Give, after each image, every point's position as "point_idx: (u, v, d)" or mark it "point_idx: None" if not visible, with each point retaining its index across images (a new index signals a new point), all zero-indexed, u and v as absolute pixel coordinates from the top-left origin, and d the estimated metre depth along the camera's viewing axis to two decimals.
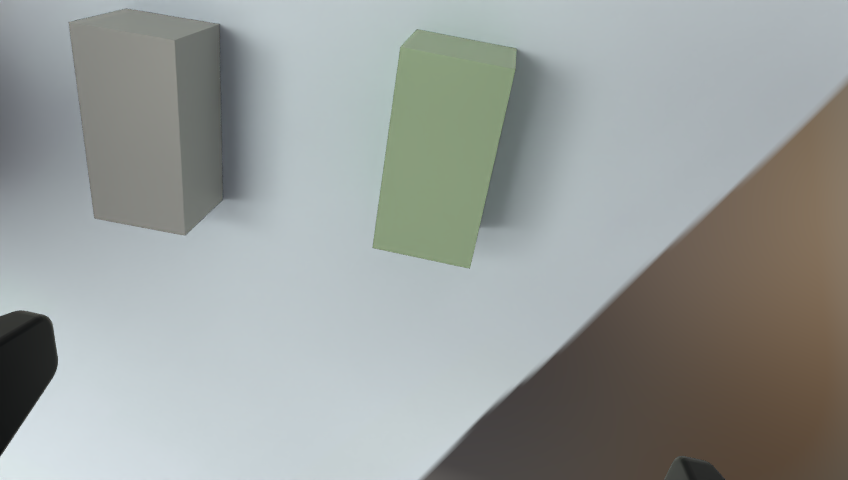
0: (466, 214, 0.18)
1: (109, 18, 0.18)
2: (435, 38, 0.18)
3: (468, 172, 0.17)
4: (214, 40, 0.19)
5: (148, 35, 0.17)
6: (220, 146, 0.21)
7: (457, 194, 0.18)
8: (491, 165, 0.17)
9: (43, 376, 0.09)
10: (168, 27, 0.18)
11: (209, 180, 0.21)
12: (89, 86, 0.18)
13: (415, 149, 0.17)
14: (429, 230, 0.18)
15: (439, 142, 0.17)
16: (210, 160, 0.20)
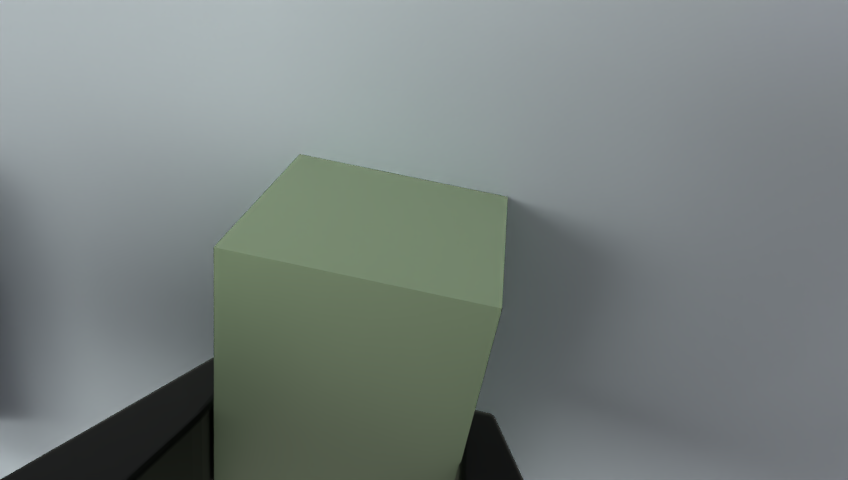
0: None
1: None
2: (329, 185, 0.08)
3: None
4: None
5: None
6: None
7: None
8: None
9: None
10: None
11: None
12: None
13: (277, 447, 0.08)
14: None
15: (330, 438, 0.07)
16: None
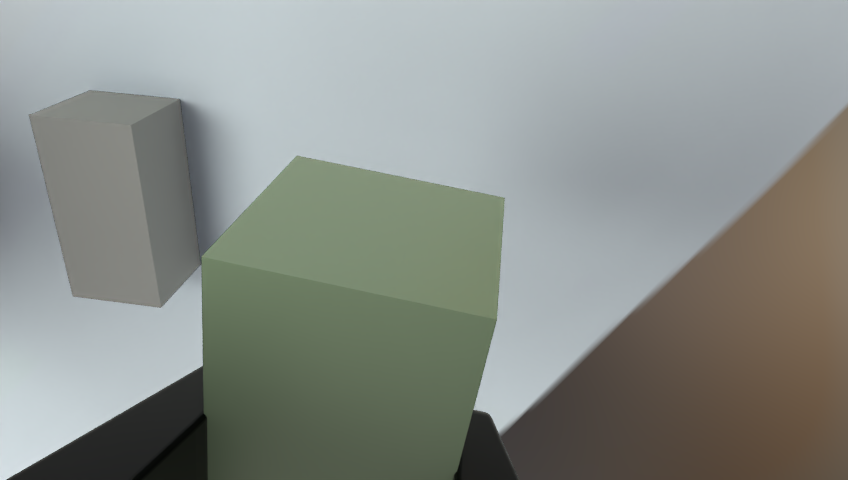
0: None
1: (70, 105, 0.18)
2: (322, 192, 0.08)
3: None
4: (176, 115, 0.20)
5: (105, 122, 0.17)
6: (193, 214, 0.21)
7: None
8: None
9: None
10: (127, 109, 0.18)
11: (183, 249, 0.21)
12: (54, 173, 0.18)
13: (268, 460, 0.07)
14: None
15: (322, 451, 0.07)
16: (182, 229, 0.21)
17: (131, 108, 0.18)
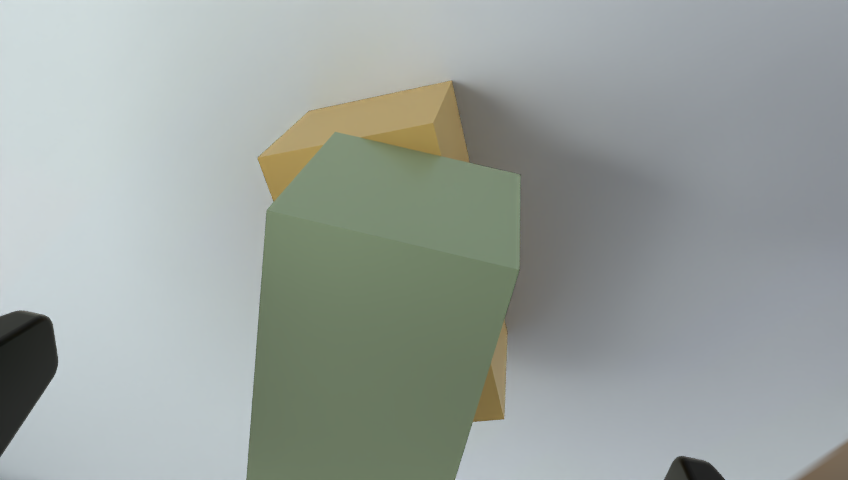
0: None
1: None
2: (361, 163, 0.09)
3: (418, 441, 0.09)
4: None
5: None
6: None
7: (397, 474, 0.09)
8: (464, 433, 0.08)
9: (43, 376, 0.09)
10: None
11: None
12: None
13: (310, 396, 0.08)
14: None
15: (359, 387, 0.08)
16: None
17: None
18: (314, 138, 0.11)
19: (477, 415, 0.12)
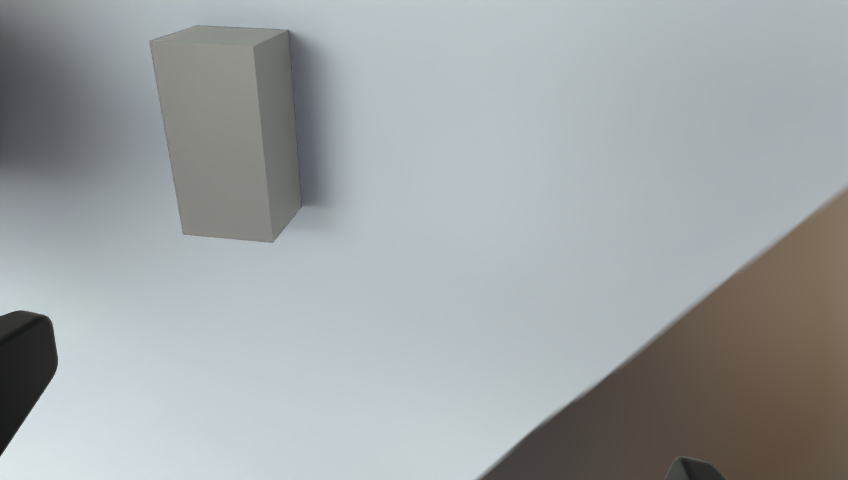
0: None
1: (185, 34, 0.18)
2: None
3: None
4: (285, 46, 0.19)
5: (227, 44, 0.17)
6: (297, 152, 0.21)
7: None
8: None
9: (43, 376, 0.09)
10: (242, 36, 0.18)
11: (289, 186, 0.21)
12: (171, 102, 0.18)
13: None
14: None
15: None
16: (289, 166, 0.21)
17: (245, 36, 0.18)
18: None
19: None
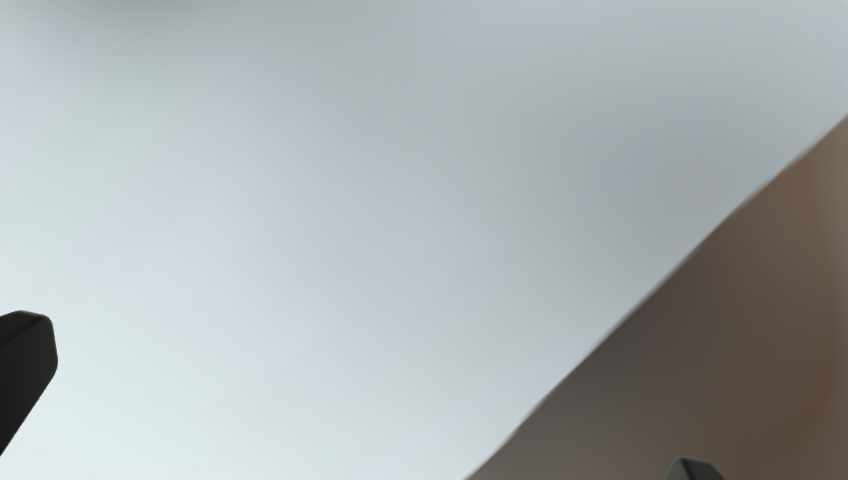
0: None
1: None
2: None
3: None
4: None
5: None
6: None
7: None
8: None
9: (43, 376, 0.09)
10: None
11: None
12: None
13: None
14: None
15: None
16: None
17: None
18: None
19: None
